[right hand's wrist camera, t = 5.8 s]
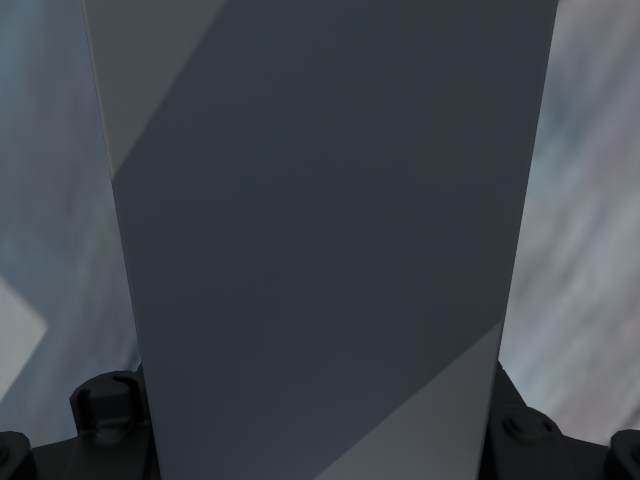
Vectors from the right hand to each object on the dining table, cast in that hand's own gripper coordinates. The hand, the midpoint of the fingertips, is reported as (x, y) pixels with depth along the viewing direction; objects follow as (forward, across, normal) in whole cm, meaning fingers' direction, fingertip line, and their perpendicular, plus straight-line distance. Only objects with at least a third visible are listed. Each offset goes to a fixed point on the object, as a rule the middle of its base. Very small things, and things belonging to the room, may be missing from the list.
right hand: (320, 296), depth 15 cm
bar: (+1, 0, -9) cm, 9 cm away
